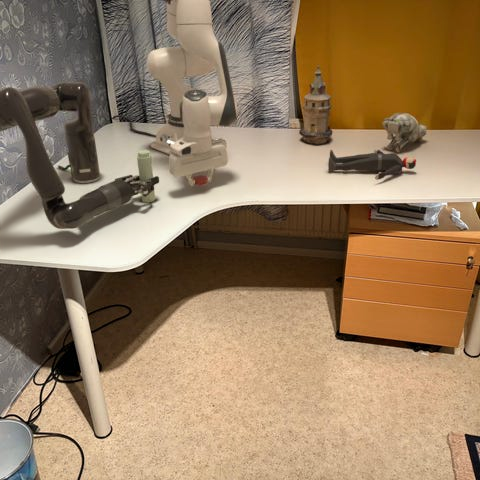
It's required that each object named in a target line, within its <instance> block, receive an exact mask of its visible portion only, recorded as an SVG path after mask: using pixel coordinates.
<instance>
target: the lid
mask: <svg viewBox="0 0 480 480" xmlns="http://www.w3.org/2000/svg"><path fill="white" fill-rule="evenodd" d="M192 179H193V180H195V186H203V185H204V186H205V185H206V184H208V183H209V182H208V180H207V176H206V175H204V174H198V175H195V176H192Z"/></svg>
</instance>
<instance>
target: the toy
mask: <svg viewBox="0 0 480 480" xmlns="http://www.w3.org/2000/svg"><path fill="white" fill-rule="evenodd" d="M327 163H328V173H332V172H336V171H343V172H348V171H358V172H365V171H367V172H375V171H379V172H378V173H377V174H375V176H374V179H375V180H376V181H378V180H382V179H384V178H385V177H386V176H389V175H392V174H393V175H394V174H395V175H396V174H399V173H401V172H402V170H403V168H405V169H407V170H413V169H414V168H415V167H416V165H417V159H416V158H414V157H407V156H406V157H404V158H403V159H402V158H401V157H400V156H399V155H398V154H397V153H395V152H391V153H384V152H383V151H381V150H380V149H374V150H373V152H370V153H362V154H355V155H348V156H347V155H346V156H341V157H340V156H339V157H337V156H336V155H335V153H334V151H333V150H332V149H330V151H329V157H328V161H327ZM380 170H385V171H383V172H381V171H380Z"/></svg>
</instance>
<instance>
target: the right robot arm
mask: <svg viewBox="0 0 480 480" xmlns="http://www.w3.org/2000/svg"><path fill="white" fill-rule="evenodd" d="M161 1H163V2H165V3H166V30H167V33H168V35H169V36H170V37H171V38H173V39H174V40H175V41H178V43H179V46H170V47H169V46H167V47H160V48H157V49H154V50H151V51H150V52H149V53H148V55H147V58H146V68H147V70H148V73H149V74H150V76H151V77H153V79H155V80H157V81H158V82H160V84H161V85H162V86H163V87H164V89H165V90H166V93H167V96H168V102H169V106H170V107H169V108H170V109H169V110H170V113H168V114H167V115H165V119H166V120H167V123H166V124H164V125H163V126H162V127H161V128H160V129H158V130H157V131H156V134H152V133H150V132H147V131H142V130H138V129H135V128H134V127H133V120H132V119H131V118H128V117H127V116H123V115H119V114H117V115H114V116H112V117H111V120H115V119H116V118H120V119H124V120H126V121H129V128H130V131H132V132H134V133H138V134H143V135H146V136H150V137H153V138H155V141H153V142H151V144H150V148H152V149H154V150H157V151H159V152H161V153H164V154H167V155H169V157H168V172H169V173H170V175H171V176H173V178H180V177H181V178H182V177H184V176H185V177H186V179H187V180H188V185H189V186H190V187H193V186H196V184H195V180H193V174H196V173H197V174H198V173H201V172H205V171H208V172H207V174H206V175H205V176H207V180H208V182H207V183H209V182H212V177H213V175H214V172H215V169H217V168H221V167H226V166H227V165H228V163H229V157H228V151H227V141H226V139H224V138H217V139H212V138H213V137H212V130H211V126H219V127H230V126H232V125H233V124H234V123H235V122H236V121H237V120H238V115H239V108H238V104H237V100H236V97H235V95H234V90H233V84H232V79H231V73H230V68H229V64H228V60H227V55H226V51H225V47H224V45H223V43H222V42H221V41H219V40H218V39H217V38H216V36H215V33H214V29H213V15H212V7H211V2H210V1H212V0H161ZM214 70H215V71H216V74H217V80H218V85H219V90H220V93H219V94H211V95H210V94H208V93H207V92H206V91H205V90H202V89H195V88H193V87H191V86H189V85H186V84H184V83H183V79H184V78H191V77H192V78H193V77H201V76H205V75H208V74H210V73H212V72H213V71H214Z"/></svg>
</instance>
